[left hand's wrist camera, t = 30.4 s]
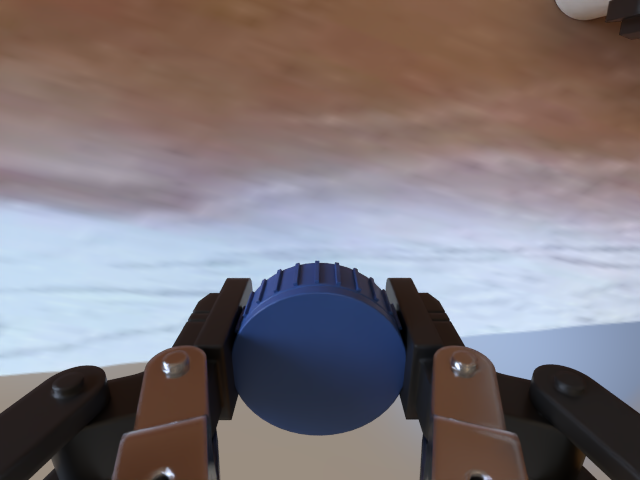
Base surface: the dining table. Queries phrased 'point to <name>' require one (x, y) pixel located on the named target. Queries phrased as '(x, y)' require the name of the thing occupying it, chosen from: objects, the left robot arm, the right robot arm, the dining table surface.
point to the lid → (318, 350)
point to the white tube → (584, 8)
